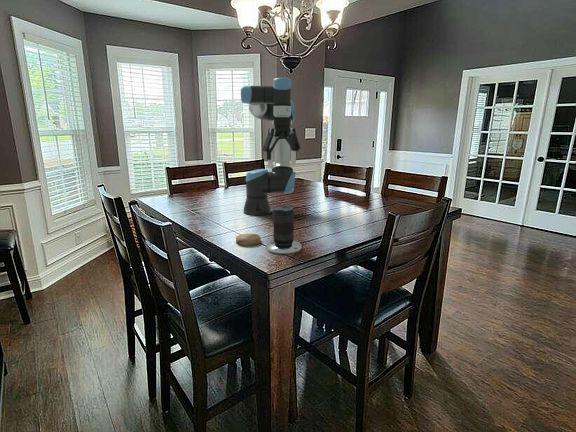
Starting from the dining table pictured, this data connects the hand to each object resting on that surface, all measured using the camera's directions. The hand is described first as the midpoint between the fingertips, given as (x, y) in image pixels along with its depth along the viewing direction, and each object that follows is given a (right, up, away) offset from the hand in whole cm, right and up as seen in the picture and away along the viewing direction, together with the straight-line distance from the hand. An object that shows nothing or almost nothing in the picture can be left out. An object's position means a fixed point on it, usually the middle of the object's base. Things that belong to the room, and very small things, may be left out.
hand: (282, 166), depth 151 cm
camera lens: (+1, -34, -19) cm, 39 cm away
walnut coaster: (-14, -33, -12) cm, 38 cm away
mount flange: (+1, -35, -18) cm, 39 cm away
